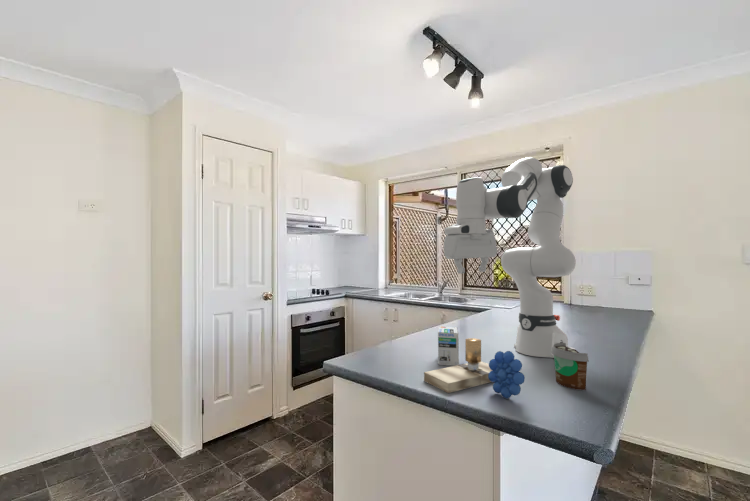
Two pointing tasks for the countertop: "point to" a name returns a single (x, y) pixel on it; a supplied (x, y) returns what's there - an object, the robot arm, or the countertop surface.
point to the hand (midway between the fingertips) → (472, 272)
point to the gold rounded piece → (473, 353)
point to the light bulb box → (448, 346)
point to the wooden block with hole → (458, 377)
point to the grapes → (506, 374)
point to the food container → (570, 366)
